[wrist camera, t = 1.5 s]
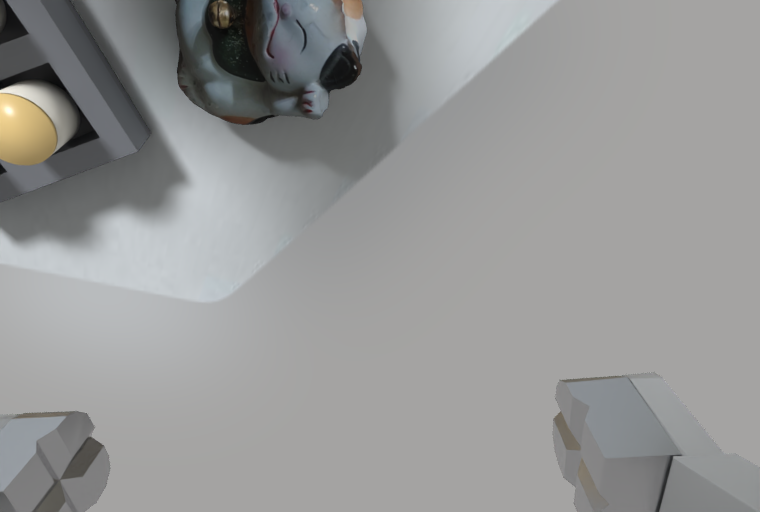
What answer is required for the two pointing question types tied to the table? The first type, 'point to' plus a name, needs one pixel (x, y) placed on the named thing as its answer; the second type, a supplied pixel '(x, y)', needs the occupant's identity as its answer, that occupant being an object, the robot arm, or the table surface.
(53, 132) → the button
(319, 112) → the lucky cat figurine
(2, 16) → the button
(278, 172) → the table surface
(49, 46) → the board
